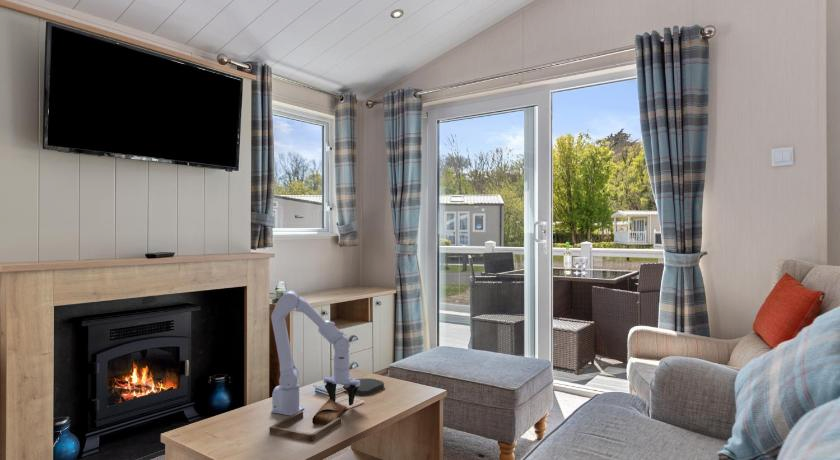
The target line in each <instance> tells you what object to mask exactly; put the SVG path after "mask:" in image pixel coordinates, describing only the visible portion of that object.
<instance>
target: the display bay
mask: <svg viewBox="0 0 840 460" xmlns="http://www.w3.org/2000/svg"><path fill="white" fill-rule="evenodd" d="M302 418H304V411H303V410H301V411H299V412H297V413H295V414H293V415H289V417H286V418H285V419H282V420H281V421H279V422H277V423H275V424H273V425H272V426H269V434H271V435H276V436H281V437H286V438H292V439H296V440H302V441H308V442H311V443H313V442H316V441H317V440H318V439H320V438H321V437H323V436H324V435H326V434H328V433H329V432H331V431H333V430H334V429H337V427H338V426H341V424H342V417H338V418H337V419H335V420H333V421H332V422H330V423H329V424H327V425H324V426H322V427H321V428H319V429H317V430H315V431H314V432H313V433H312V432H305V431H301V430H296V429H289V428H286V427H288V426H289V425H292V424H294V423H295V422H297V421H299V420H301V419H302Z"/></svg>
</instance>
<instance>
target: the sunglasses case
mask: <svg viewBox="0 0 840 460" xmlns="http://www.w3.org/2000/svg"><path fill="white" fill-rule="evenodd" d="M347 407H348V406H345V405H344V404H341V403H340V402H337V401H335V402H334V401H332V400H331V399H330V398H328V399H327V401H326V402H324V404H323V405H322V406H321V407H320V408H319V409H318V411H316V413H315V414H314V416H313V417H312V419H311V420H312V421H311V422H312V424H313V426H322V427H324V426H325V425H327V424H329V423H330V422H332V421H333V420H335V419H337V418H338V417H339V418H341V416H342V415H343V414H344V412H345V409H346V408H347ZM347 409H348V408H347ZM347 409H346V410H347Z"/></svg>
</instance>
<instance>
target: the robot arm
mask: <svg viewBox="0 0 840 460" xmlns="http://www.w3.org/2000/svg"><path fill="white" fill-rule="evenodd" d="M293 310H295V312H299V313H303V314H304V315H305V316H307V317H308V318H309V319H310V320H311V321H312V322H313V323H314V324H315V325H316V326H317V327H318V332H319V334H320V335H321V336H323V338H324V339H325V340H326V341H327V342H328V343H329V344H331V345H332V346H333V347H332V348H333V349H334V355H333V376H325V377H324V378H323V384H325V385H324V388H325V390H326V392H327V394H328V397H329V399H331V400H332V401H334V402H336V396H337V395H336V391H337V385H342V386H343V385H350V386H349V387H348V388H347V391H348V393H347V395H348V406H350V407H351V406H352V405H354V402H355V397H356V395H355V394H356V392H357V389H358V388H359V386H360V380H355V379H356V378H352V377H350V354H349V352H350V350H349V348H350V341H349V340H350V339H349V338H348V337H347V334H345V333H344V331H341V330H340V329H339V328H338V327H337V326H336V323H335V322H334V321H331V320H326V319H324V318H323V317H322V316H321V315H320V314H319V313H318V312H317V310H316V309H315V308H314V307H313V306H312V304H310V303H309V302H308V301H307V300H306V299H305V298H304V297H303V296H301V295H299V294H298V292H297V291H296V290H288V291H285V292H284V293H283V294H282V296H281V297H280V298H279V299H278V300H277V301H276V304H275V306H274V309H273V311H272V313H271V317H270V319H271V324H272V329H273V335H274V341H275V346H276V351H277V357H278V362H279V372H280V374H279V375H280V376H279V378H278V383H279V385H277V386H275V387H274V388H273V391H272V394H271V395H272V396H271V397H272V401H271V402H272V404H271V406H272V410H270V412H271V413H274V414H281V415H286V416H292V415H294V414H296V413H298V412H299V411H303V410H304V409H305V406H300V384H299V383H298V378H299V374H300V373H299V370H298V368H297V367H296V365H295V361H294V358H293V354H292V349H291V343H290V338H289V337H290V336H289V333H288V327H287V322H286V318H287V316H288V315H289V313H291V312H292V311H293Z"/></svg>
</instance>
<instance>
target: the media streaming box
mask: <svg viewBox="0 0 840 460" xmlns="http://www.w3.org/2000/svg"><path fill="white" fill-rule="evenodd" d="M354 379H355V380H360V386H359V388H358V389H357V392H356V394H355V396H362V397H363V396H364V397H365V396H370V395H373V394H375V393H378V392H381V391H382V390H384V389H385V383H384V382H383V381H382V380H379V379H375V378H368V377H367V378H366V377H365V378H354ZM342 386H343V385H342ZM349 386H350V385H344V386H343V388H344V389H345V390H346V391H347V388H348V387H349ZM347 392H348V391H347Z"/></svg>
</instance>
